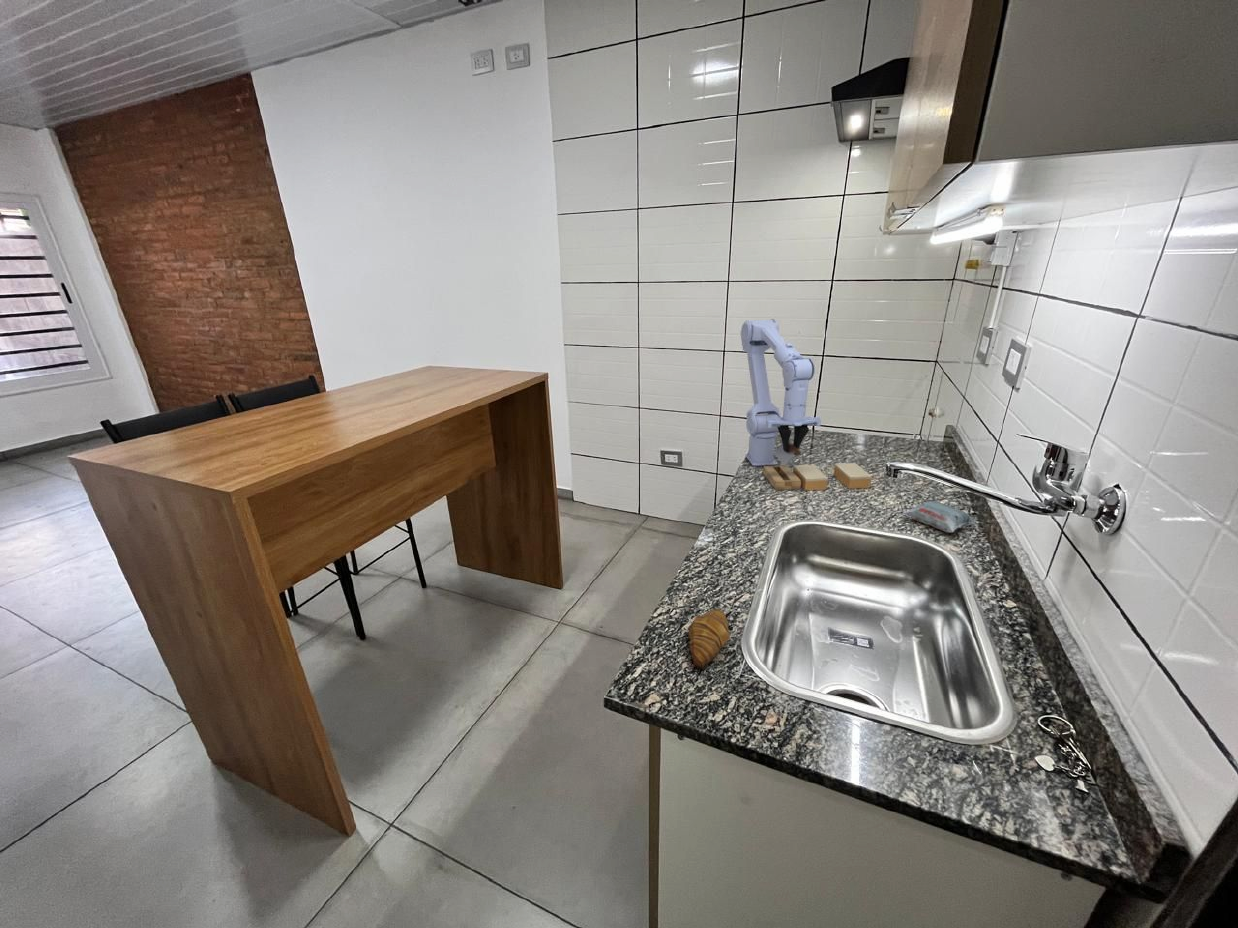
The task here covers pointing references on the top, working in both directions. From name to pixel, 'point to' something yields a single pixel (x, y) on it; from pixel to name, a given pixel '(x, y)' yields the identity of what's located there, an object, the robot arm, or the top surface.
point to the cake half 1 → (810, 477)
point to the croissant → (708, 637)
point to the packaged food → (940, 516)
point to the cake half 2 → (852, 475)
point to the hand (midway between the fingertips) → (790, 450)
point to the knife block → (786, 473)
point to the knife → (787, 454)
